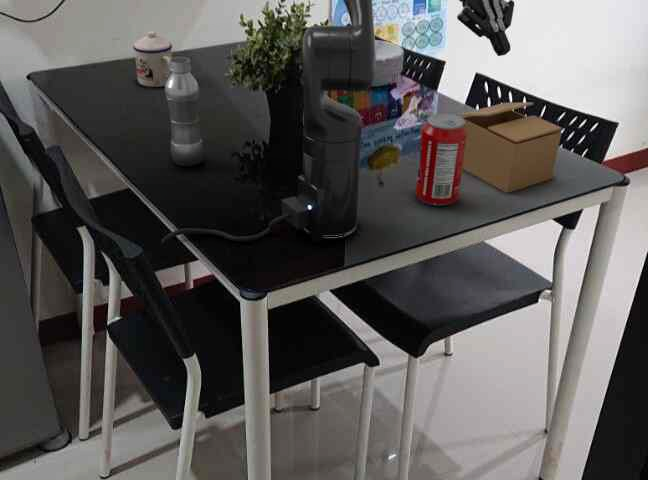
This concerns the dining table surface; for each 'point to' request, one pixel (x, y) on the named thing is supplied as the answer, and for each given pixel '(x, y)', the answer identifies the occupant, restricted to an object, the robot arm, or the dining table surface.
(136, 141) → the dining table surface
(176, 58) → the plastic bottle
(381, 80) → the paper bowls
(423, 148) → the soda can
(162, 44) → the teacup with lid
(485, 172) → the carton
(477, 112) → the flap
